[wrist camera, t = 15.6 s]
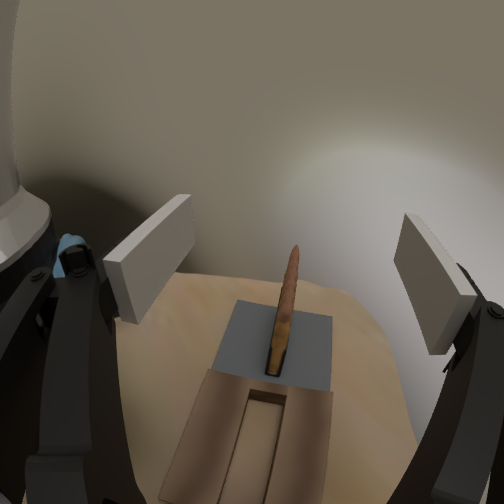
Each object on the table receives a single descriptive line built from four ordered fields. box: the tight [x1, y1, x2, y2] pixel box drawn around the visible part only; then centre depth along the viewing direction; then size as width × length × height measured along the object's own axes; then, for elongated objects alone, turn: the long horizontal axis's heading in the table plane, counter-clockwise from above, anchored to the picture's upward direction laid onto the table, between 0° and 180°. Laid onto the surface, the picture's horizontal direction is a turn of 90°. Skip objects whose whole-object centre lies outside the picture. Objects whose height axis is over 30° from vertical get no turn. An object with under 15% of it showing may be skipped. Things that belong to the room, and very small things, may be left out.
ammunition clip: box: [264, 245, 299, 377], centre depth 32 cm, size 11×2×12 cm, turn 168°
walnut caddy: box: [158, 369, 333, 504], centre depth 23 cm, size 14×16×2 cm
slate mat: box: [211, 300, 332, 391], centre depth 35 cm, size 14×13×1 cm
